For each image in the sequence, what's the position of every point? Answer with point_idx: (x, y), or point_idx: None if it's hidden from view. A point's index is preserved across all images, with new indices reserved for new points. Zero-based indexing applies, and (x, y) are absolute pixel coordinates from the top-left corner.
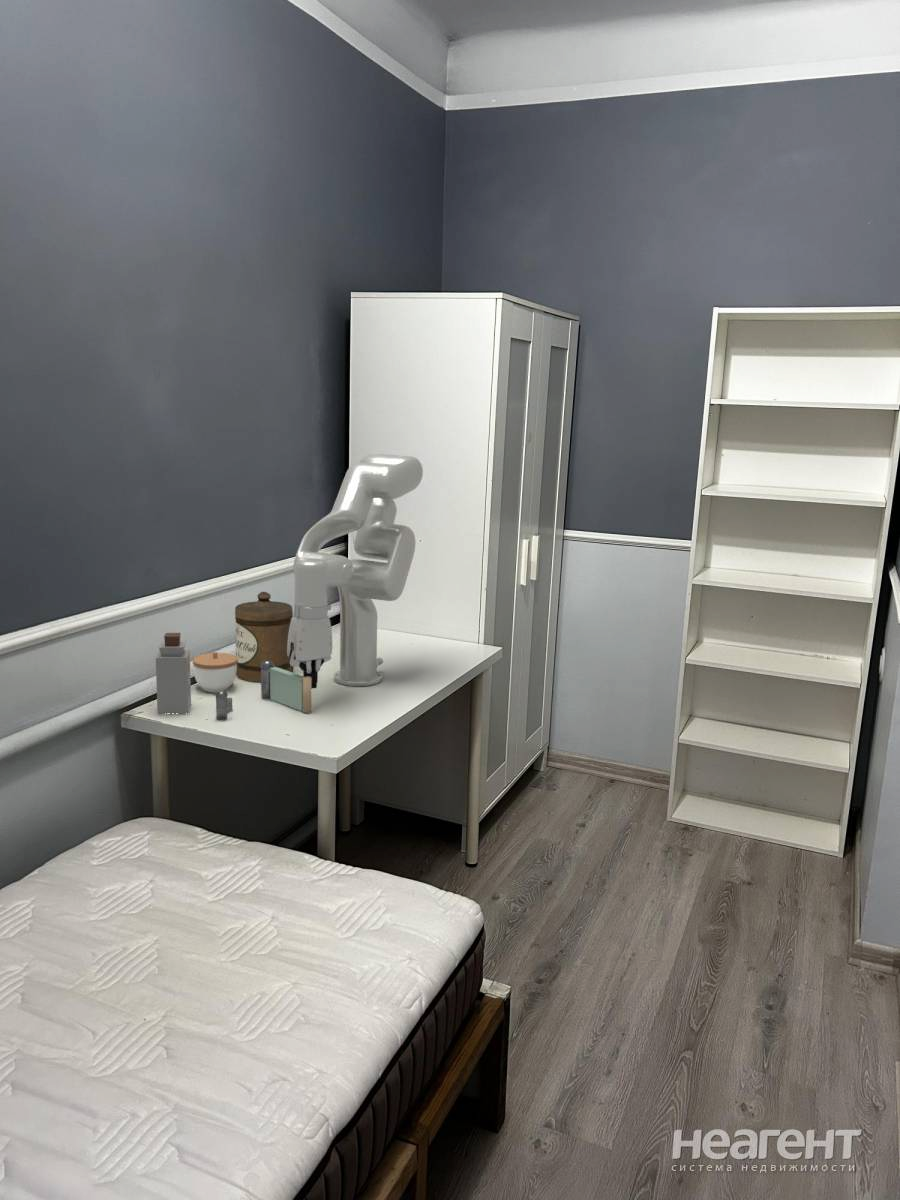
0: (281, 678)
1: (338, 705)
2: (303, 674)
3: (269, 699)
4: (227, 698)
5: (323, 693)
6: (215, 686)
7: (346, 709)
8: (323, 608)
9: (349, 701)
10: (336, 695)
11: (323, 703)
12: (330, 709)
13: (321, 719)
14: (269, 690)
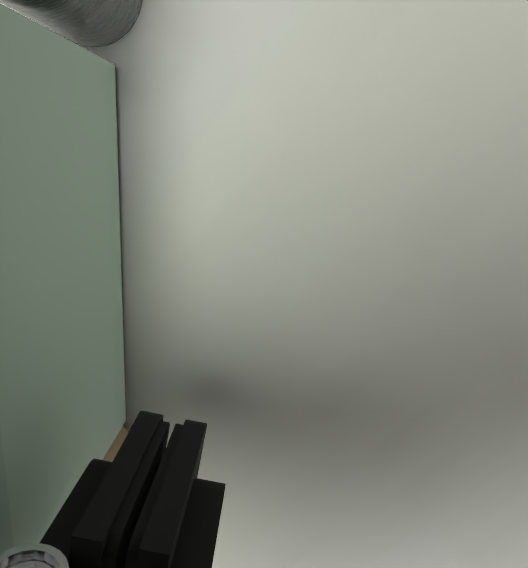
0: None
1: (345, 486)
2: (47, 535)
3: (73, 41)
4: None
5: (480, 248)
6: None
7: (322, 559)
8: None
9: (453, 487)
10: (503, 349)
11: (308, 397)
12: (255, 497)
13: None
14: (32, 19)
